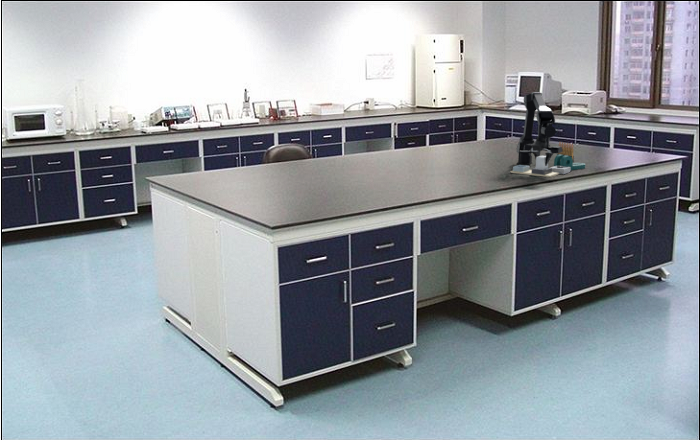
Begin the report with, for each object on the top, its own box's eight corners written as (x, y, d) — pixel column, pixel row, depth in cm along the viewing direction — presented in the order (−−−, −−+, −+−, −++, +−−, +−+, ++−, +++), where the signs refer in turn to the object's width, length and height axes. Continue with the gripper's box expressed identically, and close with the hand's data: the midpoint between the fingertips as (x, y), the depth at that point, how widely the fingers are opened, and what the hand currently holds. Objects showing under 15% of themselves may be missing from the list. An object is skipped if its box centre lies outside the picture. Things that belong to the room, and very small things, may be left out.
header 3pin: (512, 170, 375) (513, 166, 375) (519, 168, 380) (519, 164, 380) (523, 172, 371) (523, 167, 371) (529, 170, 377) (529, 165, 376)
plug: (535, 170, 367) (536, 156, 366) (541, 168, 372) (542, 155, 371) (542, 171, 365) (543, 157, 363) (548, 169, 370) (549, 156, 368)
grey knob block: (549, 172, 373) (549, 166, 373) (555, 170, 379) (556, 164, 379) (564, 174, 369) (564, 168, 368) (570, 171, 374) (570, 166, 374)
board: (510, 172, 374) (510, 171, 374) (519, 169, 382) (519, 168, 382) (550, 177, 361) (550, 175, 361) (558, 174, 368) (558, 172, 368)
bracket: (562, 171, 377) (563, 156, 376) (553, 169, 383) (554, 154, 381) (587, 168, 385) (588, 153, 384) (578, 166, 391) (579, 152, 389)
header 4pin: (531, 173, 368) (531, 169, 367) (539, 170, 374) (539, 166, 374) (544, 174, 363) (544, 170, 363) (551, 172, 370) (552, 168, 369)
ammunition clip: (573, 164, 396) (575, 143, 393) (571, 165, 395) (572, 143, 392) (558, 162, 405) (559, 141, 402) (556, 162, 404) (557, 141, 401)
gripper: (519, 135, 364) (518, 165, 368) (554, 138, 352) (552, 169, 356) (529, 132, 372) (528, 162, 376) (563, 135, 361) (561, 166, 364)
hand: (542, 165), depth 368 cm, fingers closed on plug, 4 cm apart
